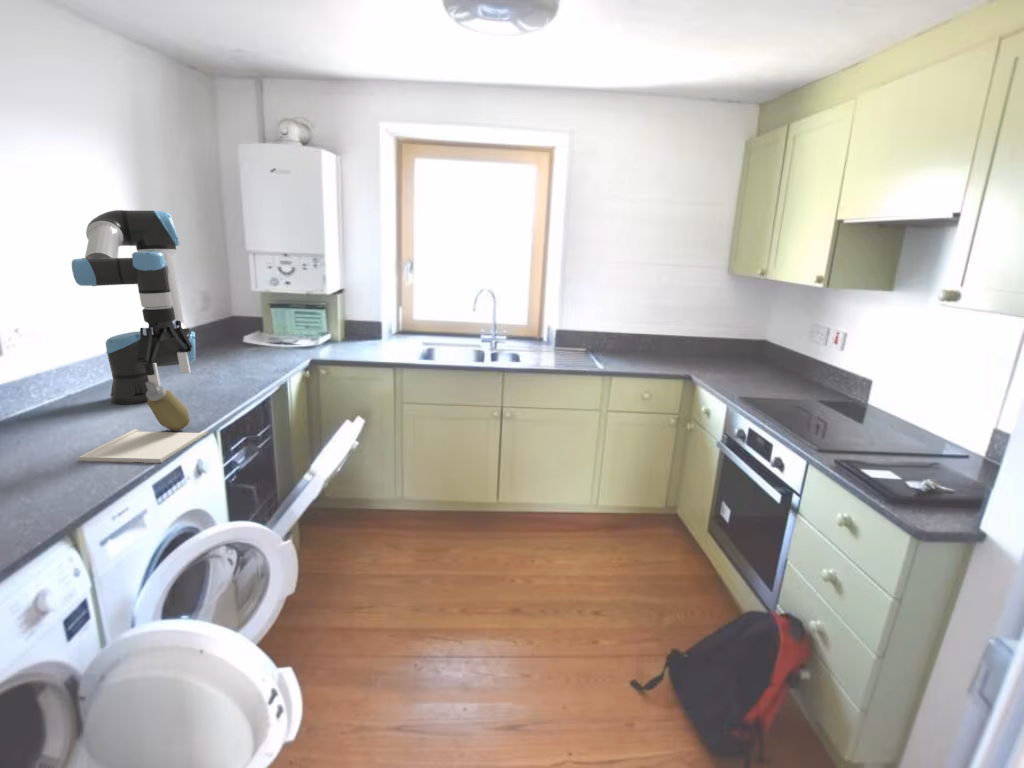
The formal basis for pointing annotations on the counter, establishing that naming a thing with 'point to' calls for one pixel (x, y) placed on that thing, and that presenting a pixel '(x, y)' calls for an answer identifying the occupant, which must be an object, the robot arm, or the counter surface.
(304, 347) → the counter surface
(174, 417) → the squeeze bottle
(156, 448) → the tray
